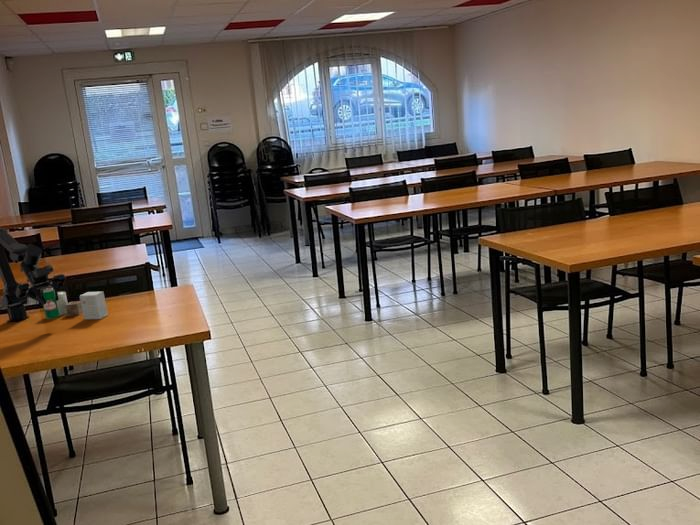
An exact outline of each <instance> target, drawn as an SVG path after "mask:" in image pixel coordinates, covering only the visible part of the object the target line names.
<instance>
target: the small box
mask: <svg viewBox="0 0 700 525" xmlns="http://www.w3.org/2000/svg"><path fill="white" fill-rule="evenodd" d="M79 301H81V306H82V311H83V312H82V315H83V319H84V320H101V319H104V318H105V317H107V316H108V315H109V312H108V307H107V303H106V298H105V293H104V290H103V291H86V292H85V293H83V294H80V295H79Z"/></svg>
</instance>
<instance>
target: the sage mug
mask: <svg viewBox="0 0 700 525" xmlns="http://www.w3.org/2000/svg"><path fill="white" fill-rule="evenodd" d="M57 293H58V301H57V305H58V310H59V316H58V317H60V316H65V315H67V311H66V306H65V305H66V304H68V303H69V302H68V299H67V292H66V291H57Z"/></svg>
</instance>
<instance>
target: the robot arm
mask: <svg viewBox="0 0 700 525" xmlns="http://www.w3.org/2000/svg"><path fill="white" fill-rule="evenodd" d="M5 249H6V250H7V251H8V252H9V258H10V260H11V261H13V263H14V264H18V263H20V265H19V266H20V267H19V268H20V269H19V270H20V272H22V273H23V274H24V276H25V277H26V281H27V282H24V283H18V281H16V278H15V276H14V273H13V271H12V268H11V265H10V263H9V260H8V257H7V255H6V252H5ZM42 253H43V250H42V248H41V247H39V246H37V245H33V243H29V244H27V245H26V244H24V243H19V241H17V240H16V239H15V238H14V237H13V236H12V235H11V234H9V233H8V231H7V229H6V228H4V227H1V228H0V279H1V280H2V284H3V290H2V296H3V297H2V301H1V306H2V308H3V309H5V310H6V312H7V315H8V319H7V320H6V322H11V323H12V322H13V321H18V322H22V321H23V320H22V319H24V320H25V318H26V319H28V318H30V315H28V314H27V309H26V307H25V305H27V304H28V299H29V298H30V299H32V300H35V301H36V302H38V303H40V304H41V305H43V304H45V301H44V299H43V298H42V296H41V292H39V289H40V290H41V289H43V288H46V287H53V289H54V290H55V295H56V300H57V301H58V293H57V292H58V289H59V288H63V287H64V286H65V283H66V281H67V277H66V276H65V274H64V273H60V274H56V275H52V276H53V277H52V279H50V280H48V279H49V275H51V274H52V273H53V272H54V267H53V265H51V264H50V263H48V264H46V265H44V266H43V267H39V266H38V264H39V263H40V261H41V258H42ZM27 317H28V318H27Z"/></svg>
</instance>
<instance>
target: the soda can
mask: <svg viewBox="0 0 700 525" xmlns="http://www.w3.org/2000/svg"><path fill="white" fill-rule="evenodd" d="M40 295H41V296H42V298H43V299H44V301H45V304H42V306H43V311H44V315H45V318H46V319H47V320H54V319H56V318H59V317H60V316H59V310H58V305H57V300H56V295H55V290H54V289H53V287H49V286H47V287H44V288H40Z"/></svg>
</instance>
